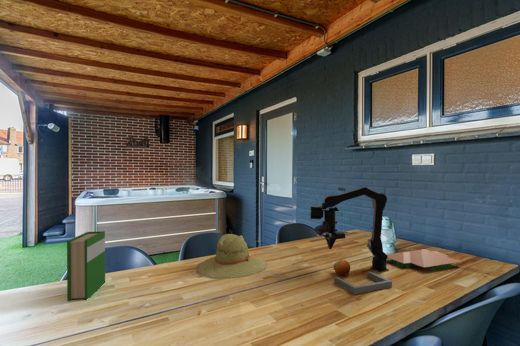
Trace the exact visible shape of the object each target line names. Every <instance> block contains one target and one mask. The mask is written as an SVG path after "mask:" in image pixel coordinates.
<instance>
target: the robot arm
mask: <svg viewBox="0 0 520 346" xmlns="http://www.w3.org/2000/svg"><path fill="white" fill-rule="evenodd" d="M362 196H365V197H368V198H369V199H371V201H372V207H373V217H372V218H373V219H372V227H371V228H372V230H371V238H367V245H366V247H367V250H369V252H370V253H371V254H372V260H371V265H372V266H370V269H371V270H374V271H376V272H379V273H380V272H386V271H390V269H389V268H387V262H386V260H387V257H388V256H387V255H388V254H387V253H385V252H384V250H383V248H384V247H383V243H382V241H383V240H382V230H383V229H382V226H383V216H384V214H383V213H384V209H385V208H386V205H387V202H388V197H387V195H386V194H385V193H381V192H376V191H374V190H372V189H369V188H368V187H366V186H361V187H359V188H357V189H353V190H349V191H347V192H343V193H339V194H330V195H329V194H328V195H326V196H325V197H324V198H323V202H322V204H321V205H320V206H313V205H311V206H310V212H309V214H310V216H309V218H310V220H322V219H323V218H324V219H323V220H322V221H321V224H319V225H318V226H316V227H314V232H315V233H316V235H319V236H322V237H323V238H325V241H326V244H327V247H328V249H329V250H332V249H333V247H334V245H335V243H336V240H342V239H346V233H345V232H343V231H338V228H336V224H338V221H337V220H336V212H340V209H339V208H338V207H337V205H339V204H340V203H341V204H342V202H344V201H348V200H351V199H355V198H358V197H362Z"/></svg>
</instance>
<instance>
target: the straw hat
mask: <svg viewBox="0 0 520 346" xmlns="http://www.w3.org/2000/svg"><path fill="white" fill-rule="evenodd" d="M248 248H249V247H248V244H247V243H246V241H245V239H244V236H243V235H238V234H234V233H225V234H224V235H222V236H220V238H219V239H218V241H217V245H216V253H215V256H212V257H210V258H207V259H204V260H203V261H201V262H199V263H198V264H197V265H196V267H195V273H196V274H197V275H199V276H202V277H203V278H207V279H211V280H231V279H232V280H233V279H241V278H246V277H251V276H254V275H256V274H260V273H262V272H263V271H265V270H266V268H267V266H268V263H267V262H266V261H265V260H263V259H261V258H260V257H256V256H253V255H250V253H249V249H248ZM259 258H260V259H259Z"/></svg>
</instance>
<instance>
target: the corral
mask: <svg viewBox="0 0 520 346" xmlns="http://www.w3.org/2000/svg"><path fill="white" fill-rule="evenodd" d="M366 272H367V273H366V277H367V278H368V279H371V280H373V281H375V282H372V283H367V284H361V285H354V284H352V283H350V282H348V281H346V280H344V279H342V278H341V277H338V276H334V283H335V284H336V285H338V286H340V287H342V288H343V289H345V290H346V291H348V292H350V293H352V294H354V295H358V294H363V293H368V292H373V291H374V292H375V291H379V290H383V289H387V288H388V289H389V288H392V287H393V281H392V280H390V279H387V278H385V277H383V276H381V275H379V274H377V273H374V272H372V271H366Z"/></svg>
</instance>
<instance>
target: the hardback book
mask: <svg viewBox="0 0 520 346" xmlns="http://www.w3.org/2000/svg"><path fill="white" fill-rule="evenodd" d="M66 277H67V280H66V283H67V284H66V285H67V286H66V287H67V288H66V291H67V292H66V294H67V296H66V297H67V299H66V300H67V301H66V302H70V300H71V299H72V300H73V299H84V300H85V301H88V300H89V299H90V298H91V297H92V296H93V295H94V294H96V293H97V292H98V291H99V290H100V289H101V288H102V287H103V286H104V285H105V284H104V283H106V233H105V230H104V231H103V230H102V231H97V230H96V231H86V232H84V233H82V234H80V235H78V236H75V237H71V239H70V238H69V239H68V240H66ZM103 284H104V285H103ZM102 285H103V286H102ZM101 286H102V287H101ZM100 287H101V288H100ZM88 298H89V299H88ZM87 299H88V300H87ZM72 300H71V301H72Z"/></svg>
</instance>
